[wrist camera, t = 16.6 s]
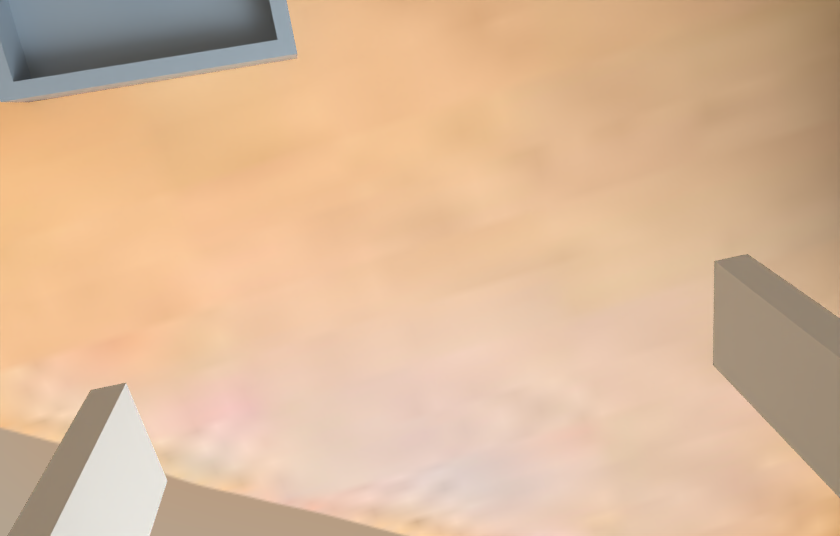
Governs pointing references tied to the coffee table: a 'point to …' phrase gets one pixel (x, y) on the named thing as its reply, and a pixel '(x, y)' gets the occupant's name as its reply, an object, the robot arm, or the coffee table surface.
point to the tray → (132, 42)
